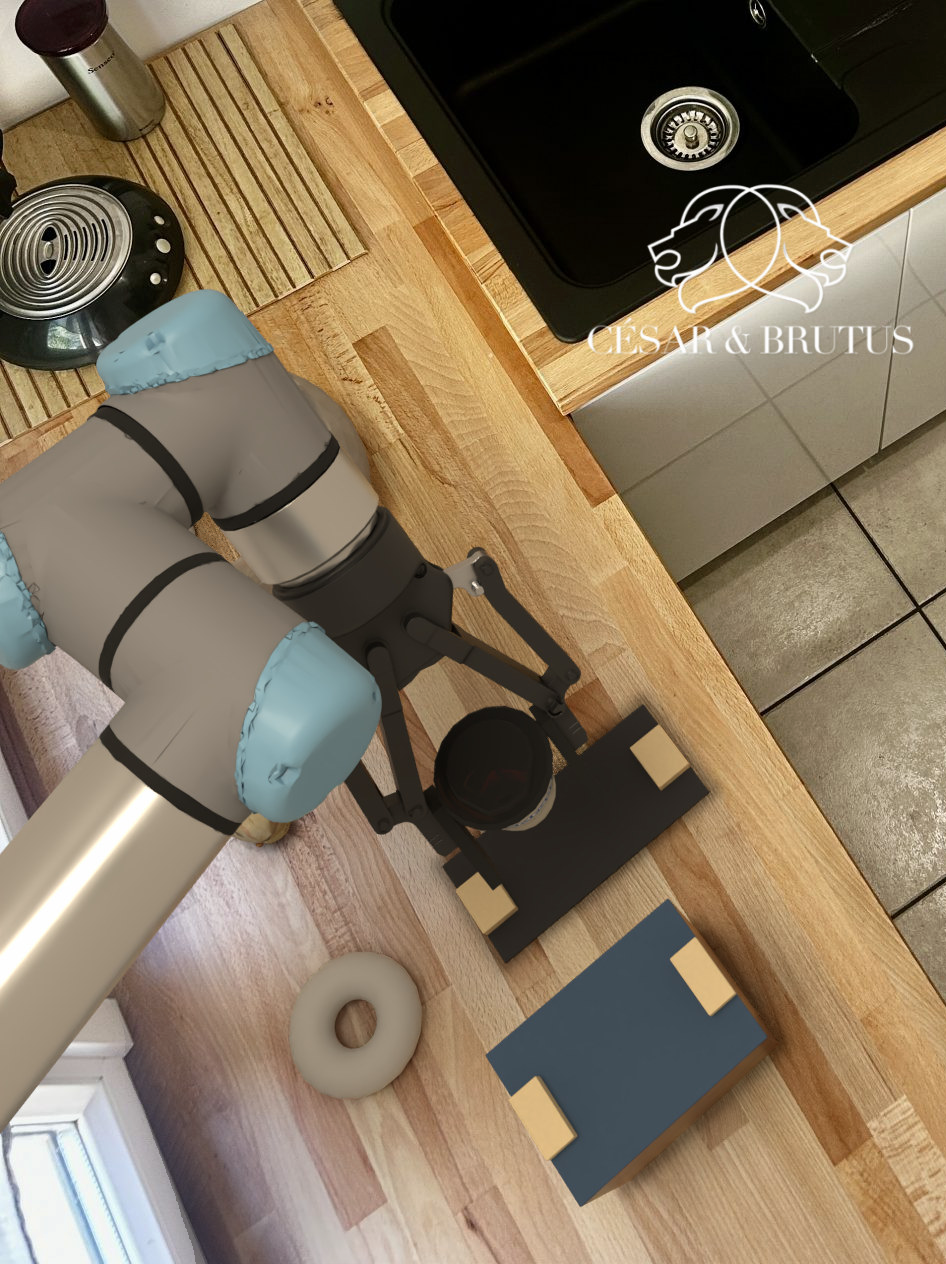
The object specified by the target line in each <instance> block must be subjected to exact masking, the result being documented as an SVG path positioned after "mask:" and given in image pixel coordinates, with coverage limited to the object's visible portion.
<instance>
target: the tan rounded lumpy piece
mask: <svg viewBox="0 0 946 1264" xmlns="http://www.w3.org/2000/svg"><path fill="white" fill-rule="evenodd" d="M292 822H293V821H291V822H287V823H279V822H272V821H270V820H268V819H266V818H265V817H263V816H262V815H260V814H259V813H257V814H253V813H252V814H251V815H250V816H249V817H248V818H247V819H246V820H245V821H244V822H243V823H242V824H241V825H240V827H239V828H238V829H237V830H236V832H235V833H234V834H233V835H232V837H231V838H234V839H236V840H238V841H241V842H245V843H250V844H255V847H257V848H262V847H264V844H266V845H272V844H275V843H276V842H278V841H279V840H282V839H283V838H284V837H285V836H286V835H287V834H288V833H289V831H290V830H289V829H290V827H291V825H292Z"/></svg>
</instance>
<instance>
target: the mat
mask: <svg viewBox="0 0 946 1264" xmlns="http://www.w3.org/2000/svg"><path fill="white" fill-rule="evenodd" d="M578 755H579V757H580V758H581V759H582V761H583V762H584V764H585V765H586V766H587V768H588V769H589V770H590V772H591V773H592V775H593V776H594V777H595V779H596V780H597V781H598V783H599V784H600V786H601V787H602V788H603V790H604V791H605V793H606V794H607V795H608V796H607V797H606V798H604V799H603V800H602V801H601V802H600V803H598V804H597V802H596V801H595V800H594V798H593V797H592V796H591V794H590V793H589V792H588V790H587V789H586V787H585V786H584V785H583V783H582V782H581V781H580V779H579V778H578V777H577V775H576V774H575V773H574V771H573V770H572V768H571V767H570V766H569V764H568V763H567V764H566V765H565V766H564V767H562V768H561V769H560V770H559V771H558V772H556V773H555V774H554V779H555V784H556V794H555V799H554V803H553V806H552V808H551V810H550V811H549V813H548V814H547V816H546V817H545V818H544V819H543V820H542V821H541V822H540V823H538V824H537V825H536V826H534V827H531V828H529V829H526V830H521V831H509V830H502V829H501V830H488V831H484V832H482V833H481V834H480V835H478V837H475V839H476V840H477V841H478V843H479V844H480V845H481V847H482V848H483V849H484V850H485V852H486V853H487V854H488V855H489V857H490V858H491V859H492V861H493V863H494V865H495V867H496V869H497V871H498V873H499V875H500V876H501V878H502V880H503V883H502V884H501V885H499V886H498V887H497V888H496V889H495V890H492V889H491V888H490V887H489V885H488V884H487V883H486V882H485V880H484V879H483V878H482V877H481V875H480V874H479V873H478V871H477V870H476V869H475V868H474V866H473V865H472V864H471V863H470V861H469V860H468V859H467V858H466V856H465V855H464V854H463V853H462V851H461V850H460V851H459V852H458V853H456V854H455V855H454V856H453V857H451V858H450V859H449V860H448V861H446V862H445V863H444V864H443V865H442V869H443V870H444V872H445V873H446V875H447V877H448V878H449V880H450V881H451V883H452V885H454V887H455V890H454V892H455V893H456V895H457V896H458V898H459V899H460V901H461V902H462V904H463V906H464V907H465V909H466V910H467V912H468V913H469V915H470V916H471V918H472V919H473V921H474V923H475V924H476V926H477V927H478V929H479V930H480V931H481V933H482V935H485V936H487V938H488V939H489V941H490V942H491V944H492V946H493V947H494V949H495V951H496V952H497V953H498V955H499V956H500V958H501V960H502V961H503V962H504V964H508V963H509V962H510V961H512V960H513V959H514V958H515V957H516V956H518V954H520V953H522V951H524V949H526V948H527V947H528V946H530V944H532V943H533V942H534V941H535V940H537V939H538V938H539V937H540V936H541V935H543V934H544V933H545V932H546V931H547V930H548V929H549V928H551V927H552V926H553V925H554V924H556V923H557V922H558V921H560V919H561V918H563V917H564V916H565V915H567V913H569V912H570V911H571V910H572V909H573V908H575V907H576V906H577V905H578V904H579V903H580V902H581V901H583V900H584V899H585V898H587V896H589V895H590V894H591V893H592V892H594V891H595V890H596V889H597V888H599V886H601V885H602V884H604V882H606V881H607V880H608V879H609V878H610V877H611V876H613V875H614V874H615V873H616V872H618V871H619V870H620V869H621V868H622V867H624V866H625V864H627V863H628V862H629V861H631V859H633V858H634V857H635V856H637V854H639V853H640V852H641V851H642V850H643V849H645V848H646V847H647V846H648V845H649V844H651V842H653V841H654V840H655V839H657V838H658V837H659V836H660V835H661V834H662V833H664V832H665V831H666V830H667V829H668V828H669V827H671V826H672V825H673V824H674V823H676V822H677V821H678V820H679V819H680V818H682V817H683V816H684V815H685V814H686V813H688V812H689V811H690V810H691V809H692V808H693V807H694V806H696V805H697V804H698V803H699V802H700V801H702V800H703V799H704V798H706V796H708V794H710V791H709V789H708V788H707V786H706V785H705V783H704V782H703V781H702V780H701V779H700V777H699V776H698V775H697V773H696V771H694V769H693V768H692V767H691V765H690V762H689V761H688V760H687V759H686V758H685V755H684V754H683V753H682V752H681V751H680V749H679V748H678V747H677V745H676V744H675V743H674V742H673V740H672V739H671V737H670V736H669V735H668V733H667V732H666V730H664V728H663V727H662V725H661V724H660V723H658V722H657V720H656V719H655V718H654V716H653V715H652V714H651V713H650V711H649V709H648V708H647V707H646V705H645V704H643V703H642V704H641V705H639V706H638V707H637V708H636V709H634V711H632V712H631V713H630V714H628V715H627V716H626V717H625V718H623V719H622V720H621V721H620V722H618V723H617V724H616V725H615V726H614V727H612V728H611V729H610V730H608V731H607V732H606V733H605V734H604V735H603V736H601V737H599V738H598V739H597V740H596V741H595V742H594V743H592V744H591V745H590V746H589V747H588V748H586V749H585V750H584V751H583V752H581V753H580V754H578Z"/></svg>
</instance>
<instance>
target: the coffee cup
mask: <svg viewBox="0 0 946 1264" xmlns="http://www.w3.org/2000/svg"><path fill="white" fill-rule="evenodd" d="M550 742H551V741H550V739H549V737H548V736H547V734H546V733H545V732H544V730H543V729H542V727H541V726H540V725H539V723H538V722H537V721H536V719H535V718H534V717H533V716H531V715H530V714H528V713H526V712H525V711H524V710H521V709H518V708H515V707H512V706H511V707H510V706H507V705H494V706H493V705H492V706H484V707H482V708H480V709H477V710H473V711H471V712H469V713H467V714H466V715H465V716H463V717H462V718H460V719H459V721H457V722H455V723H454V724H453V725H451V727H450V729H449V730H448V732H447V733H446V735H445V736H444V737H443V739H442V740H441V741H440V744H439V747H438V749H437V753H436V755H435V758H434V761H433V776H432V777H433V778H432V780H433V785H434V787H435V789H436V792H437V796H438V799H439V801H440V802H441V804H442V805H443V807H444V808H445V810H446V811H447V813H448V814H449V815H450V816H451V817H453V818H454V819H455V820H457V821H458V822H459V823H461V824H462V825H463V826H466V827H467V828H470V829H474V830H478V831H480V832H483V831H484V832H485V831H488V830H501V829H502V830H509V831H521V830H526V829H529V828H531V827H534V826H536V825H537V824H538V823H540V822H541V821H542V820H543V819H544V818H545V817H546V816H547V814H548V813H549V811H550V810H551V808H552V806H553V803H554V799H555V794H556V784H555V779H554V775H555V774H554V752H553V749H552V746H551V743H550Z"/></svg>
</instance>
